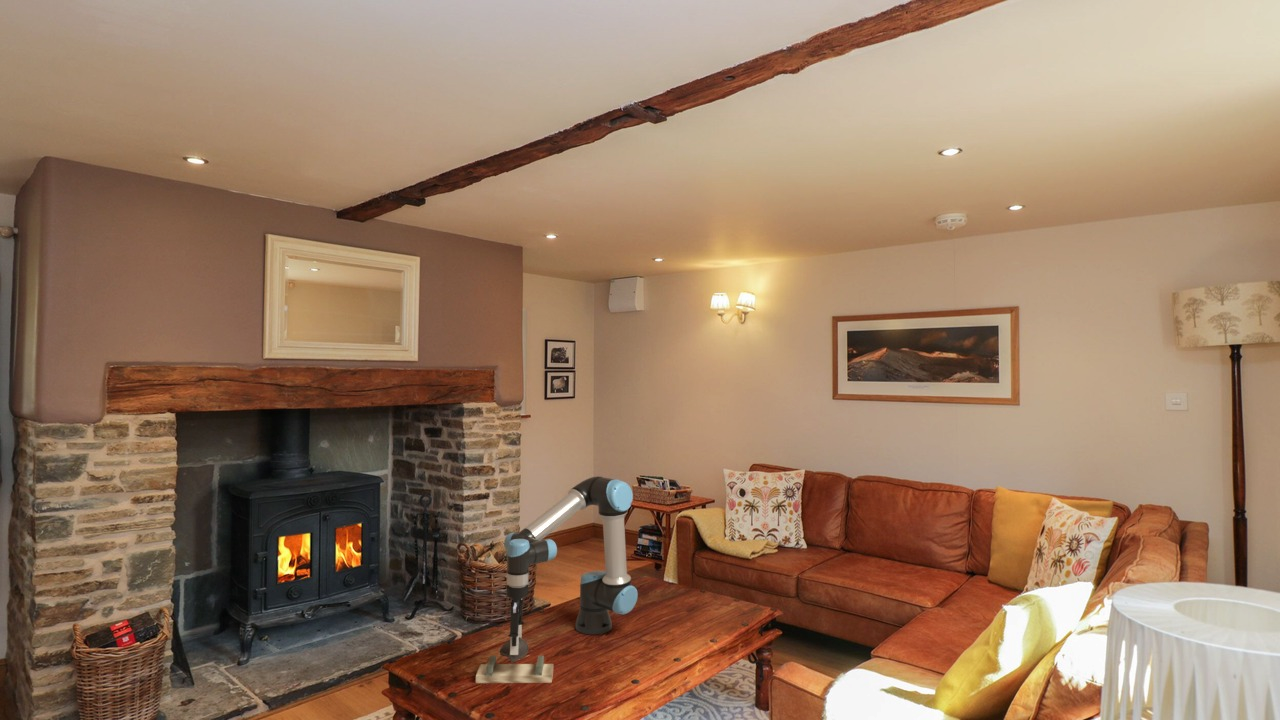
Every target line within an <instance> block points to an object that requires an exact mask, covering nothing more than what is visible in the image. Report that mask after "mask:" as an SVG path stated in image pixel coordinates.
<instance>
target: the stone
mask: <svg viewBox="0 0 1280 720" xmlns="http://www.w3.org/2000/svg"><path fill="white" fill-rule="evenodd" d="M529 648H530V647H529V645H528V643H527V641H526V640H525V639H524V638H523V637H521V638H520V637H519V643H518V655H510V639H509V640H507V641H506V642H505V643H504V644H502V646H501V647H500V650H499V654H500V656H502V657H506V658H508V660H509V661H510V662H511V664H515V663H516V662H517V661H518V660H522V659H524V658H525V657H526V655H527V654H528V652H529Z"/></svg>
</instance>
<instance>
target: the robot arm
mask: <svg viewBox="0 0 1280 720" xmlns="http://www.w3.org/2000/svg"><path fill="white" fill-rule="evenodd" d="M633 497H634V495H633V491H632V488H631V486H630V484H628V482H625V481H622V480H620V479H615V478H609V477H603V476H592V477H588V478H587V479H584V480H582V481H581V482H579V483H578V484H576V485H574V486H573V487H572V488H570V489H569V490H568V492H567V495H566V496H564V497H563V498H562V499H560V500H559V501H557V503H556V504H554V505H553V506H552V507H550V508H549V509H548V510H546V511H545V512H543V513H542V514H541V515H540V516H538V517H537V518H536V519H535V520H533V521H532V522H531V523H529V524H528V525H527V526H525V527H524V528H523V529H522V530H520V531H519V532H511V533H508V534H507V535H506V537H505V539H504V541H503V547H504V549H505V550H506V558H507V559H506V574H505V575H504V577H505V578H506V584H507V585H506V588H505V589H506V590H505V591H506V597H507V598H509V599H511V602H510V627H509V629H510V630H509V634H507V635H508V637H510V639H509V640H510V655H518V643H519V637H520V638H522V634H523V633H522V628H523V627H522V626H523V625H524V624H525V621H523V620H524V618H523V605H524V600H523V599H524V598H526V597H527V596H528V595H529V585H528V584H529V578H530V577H529V573H530V572H529V571H530V570H529V569H530V568H529V567H530V566H532V565H536V564H541V563H546V562H549V561H551V560H554V559H555V558H556V557H557V555H558V546H557V544H556V542H555V541H554V540H553V539H550V538H548V539H546V537H547V536H548V535H549V534H551V533H552V532H553V531H554V530H555V529H557V528H558V527H559V526H561V525H562V524H563V523H564V522H566V521H567V520H568V519H570V518H571V517H572V516H573V515H574V514H575V513H577V512H578V511H580V510H582V511H583V510H585V509H586V508H587V507H589V506H597V507H598V516H600V517H601V518H602V531H603V545H604V546H603V547H604V548H603V549H604V565H605V567H604V568H605V570H594V571H593V570H592V571H587V572H584V573H582V575H581V576H580V585H579V587H580V589H579V594H580V595H579V603H580V604H579V612H578V614H577V618H576V620H575V630H576V631H577V632H579V633H580V634H584V635H592V636H593V635H595V636H596V635H602V634H605V633H608V632H610V631H611V630H612V626H613V625H612V623H613V622H612V619H611V616H610V611H611V612H613V613H615V614H619V615H626V614H628V613H630V612H631V611H632V610H633V609H634V607H635V606H636V604H637V601H638V597H639V596H638V595H639V593H638V589H637V588H636V587H635V586H634V585H632V577H631V575H630V574H628V569H627V549H626V548H627V547H626V531H625V530H626V529H625V517H626V515H627V514H628V510H629V509H630V507H631V506H632V503H633V500H634V499H633Z"/></svg>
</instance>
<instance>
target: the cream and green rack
mask: <svg viewBox="0 0 1280 720" xmlns="http://www.w3.org/2000/svg"><path fill="white" fill-rule="evenodd" d="M536 660H537V661H536V663H497V655H490V656H489V659H488V662H487V663H481V664H480V665H479V667H478V669H477V671H476V675H475V684H526V683H527V684H531V683H533V684H534V683H537V684H539V683H541V684H542V683H543V684H544V683H545V684H546V683H547V684H548V683H549V684H550V683H551V684H552V681H553V675H554V667H555V665H554V663H545V655H538V656H537V659H536Z"/></svg>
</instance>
